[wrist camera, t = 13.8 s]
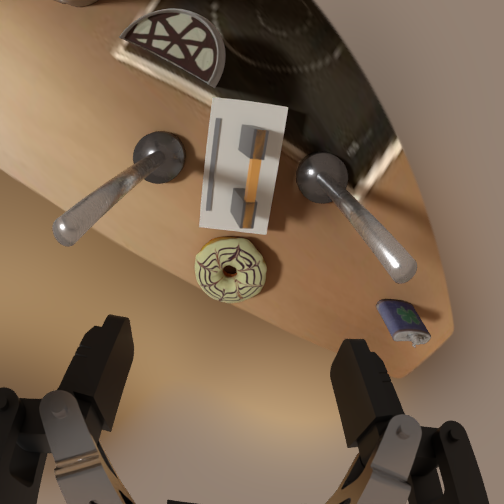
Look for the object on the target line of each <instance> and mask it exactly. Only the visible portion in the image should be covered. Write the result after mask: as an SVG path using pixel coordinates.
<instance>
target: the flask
mask: <svg viewBox="0 0 504 504" xmlns="http://www.w3.org/2000/svg"><path fill="white" fill-rule="evenodd" d="M378 303H379V304H378ZM378 303H377V305H376V307H377V310H378V311H379V313H380V315H381V317H382V318H383V320H384V322H385V324H386V326H387V328H388V330H389V332H390V334H391V336H392V338H393V340H394V341H412V343H413V344H412V346H413V347H414V348H415V347H416V346H415V345H416V344H417V345H419V344H425V343H427V342H428V341H429V340H430V338H431V335H430V333H429V332H428V330H427V329H426V327H425V325H424V324H423V322H422V320H421V319H420V317H419V315H418V314H417V312H416V311H415V309H414V307H413V305H412V304H411V303H408V302H405V301H401V300H393V299H383V300H380V301H379V302H378Z"/></svg>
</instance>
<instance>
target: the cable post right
mask: <svg viewBox="0 0 504 504" xmlns="http://www.w3.org/2000/svg"><path fill="white" fill-rule="evenodd" d="M296 182H297V185H298V187H299V189H300V191H301V192H302V194H303V195H304V196H305V197H306V198H307V199H309V200H310V201H312V202H315V203H329V202H332V201H333V202H334V203H335V204H336V206H337V207H338V208H339V209H340V211H341V212H342V213H343V214H344V215H345V217H346V218H347V219H348V220H349V222H350V223H351V224H352V225H353V227H354V228H355V229H356V231H357V232H358V233H359V234H360V236H361V237H362V238H363V240H364V241H365V242H366V244H367V245H368V246H369V247H370V249H371V250H372V251H373V253H374V254H375V256H376V257H377V258H378V260H379V261H380V262H381V264H382V265H383V266H384V268H385V269H386V271H387V272H388V273H389V275H390V276H391V278H392V279H393V280H394V281H395V282H396V283H405V282H407V281H409V280H410V279H411V278H412V277H413V276H414V275H415V273H416V270H417V263H416V261H415V260H414V259H413V258H412V256H411V255H410V254H409V253H408V252H407V251H406V250H405V249H404V248H403V247H402V245H401V244H400V243H399V242H398V241H397V240H396V239H395V238H394V237H393V236H392V235H391V234H390V233H389V232H388V231H387V230H386V228H385V227H384V226H383V225H382V224H381V223H380V222H379V221H378V220H377V219H376V218H375V217H374V216H373V215H372V214H371V213H370V212H369V211H368V210H367V209H366V208H365V207H364V206H363V205H362V204H361V203H360V202H359V201H358V200H356V199H355V198H354V197H353V196H352V195H351V194H350V193H349V192H348V191H347V190H346V189H345V188H346V186H347V183H348V173H347V169H346V167H345V165H344V163H343V162H342V161H341V160H340V159H339V158H338V157H336V156H334V155H333V154H331V153H328V152H323V151H319V152H314V153H311V154H309V155H307V156H306V157H305V158H304V159H303V160H302V161H301V162H300V164H299V166H298V168H297V171H296Z"/></svg>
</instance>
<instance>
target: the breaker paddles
mask: <svg viewBox="0 0 504 504" xmlns="http://www.w3.org/2000/svg"><path fill="white" fill-rule="evenodd" d="M268 134H269V131H268V130H266V129H263V128H260V127H257V126H253V125H244V124H242V127H241V134H240V141H239V148H238V150H239V151H240V152H241V153H243V154H244V155H245V156H247V157H248V158H249V159H250V162H249V169H248V175H247V182H246V188H233V193H232V201H231V209H230V212H231V214H232V216H233V218H234V219H235V221H236V223H237V224H238V226H239V228H244V229H253V228H254V222H255V215H256V209H257V203H258V202H257V201H256V200H255V199H256V193H257V186H258V180H259V173H260V167H261V161H262V160H264V159H265V153H266V147H267V140H268Z"/></svg>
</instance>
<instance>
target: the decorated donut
mask: <svg viewBox="0 0 504 504" xmlns="http://www.w3.org/2000/svg"><path fill="white" fill-rule="evenodd" d="M227 265H230V266H233V267H235V268H236V271H237V273H235V274H228V273H226V272H225V271H224V269H223V268H224V267H225V266H227ZM266 271H267V266H266V263H265V261H264V259H263V257H262V255H261V254H260V253H259V251H258V250H257V249H256V248H255V247H254V245H253V244H252V243H251V242H250V241H249V240H247V239H245V238H236V237H217V238H214V239H212V240H210V241H209V242H208V243H207V244H205V245H204V246H203V248H202V249H201V251H200V253H198V254H197V255H196V260H195V274H196V279H197V281H198V284H199V285H200V287H201V288H202V290H203V291H204V292H205V293H206V294H208V296H209V297H211V298H213V299H215V300H218V301H221V302H226V303H238V302H241V301H244V300H246V299H249V298H251V297H253V296H255V295H257V294H258V293H259V292H260V291H261V289H262V287H263V286H264V283H265V280H266Z"/></svg>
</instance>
